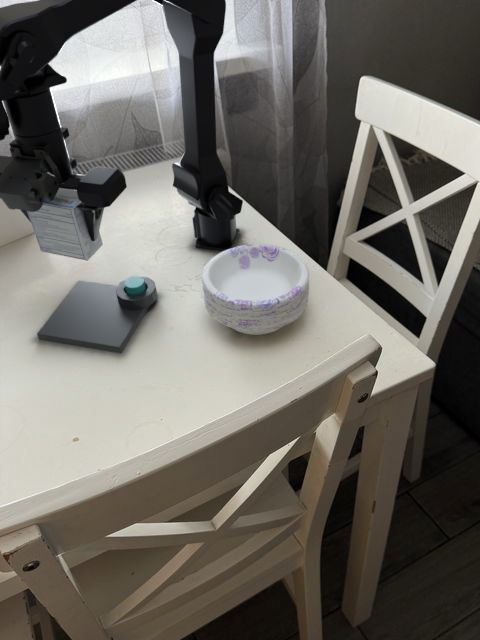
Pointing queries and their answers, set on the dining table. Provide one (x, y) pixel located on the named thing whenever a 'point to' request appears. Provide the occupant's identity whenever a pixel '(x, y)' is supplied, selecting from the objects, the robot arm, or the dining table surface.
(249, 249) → the paper bowls
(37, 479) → the dining table surface
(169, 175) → the dining table surface
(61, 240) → the medicine box
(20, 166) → the robot arm
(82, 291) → the scale
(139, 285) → the tare button
